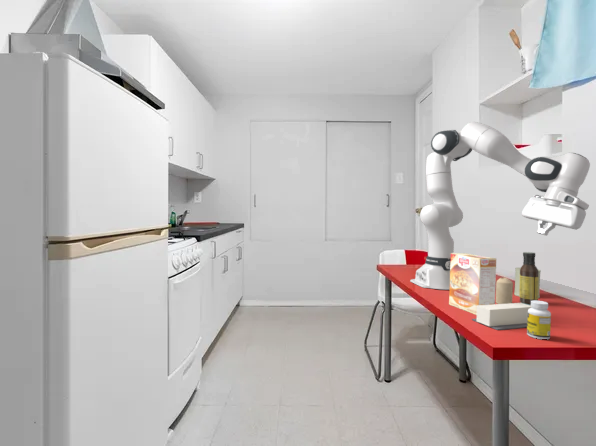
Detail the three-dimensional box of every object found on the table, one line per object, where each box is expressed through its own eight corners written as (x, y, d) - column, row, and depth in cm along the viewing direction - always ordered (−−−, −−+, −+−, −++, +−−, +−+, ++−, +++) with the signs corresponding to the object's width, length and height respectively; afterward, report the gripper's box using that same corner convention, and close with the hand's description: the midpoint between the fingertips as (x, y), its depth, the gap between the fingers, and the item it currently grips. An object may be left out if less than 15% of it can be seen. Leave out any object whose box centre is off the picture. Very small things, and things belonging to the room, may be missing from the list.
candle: (514, 306, 132) (515, 279, 131) (498, 305, 133) (499, 278, 133) (508, 302, 137) (509, 277, 137) (493, 301, 138) (494, 276, 138)
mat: (471, 320, 112) (471, 318, 112) (510, 317, 117) (511, 315, 117) (497, 330, 103) (497, 328, 103) (539, 326, 107) (539, 325, 107)
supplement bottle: (522, 332, 101) (524, 299, 101) (542, 334, 100) (544, 300, 100) (533, 339, 96) (534, 304, 95) (554, 340, 95) (556, 304, 95)
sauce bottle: (531, 301, 140) (533, 251, 140) (541, 305, 134) (544, 253, 133) (515, 300, 140) (517, 251, 140) (525, 304, 134) (527, 253, 134)
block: (521, 317, 115) (476, 321, 110) (521, 302, 115) (477, 305, 110) (535, 322, 110) (489, 326, 105) (535, 306, 110) (489, 309, 105)
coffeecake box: (448, 304, 132) (449, 253, 131) (464, 303, 134) (465, 252, 133) (477, 316, 117) (479, 258, 117) (495, 315, 119) (497, 257, 119)
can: (527, 298, 144) (528, 269, 144) (508, 293, 153) (510, 266, 153) (545, 298, 146) (546, 269, 146) (526, 293, 155) (527, 266, 155)
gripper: (527, 191, 133) (511, 224, 134) (583, 200, 114) (563, 239, 115) (537, 196, 135) (522, 229, 137) (594, 206, 116) (575, 244, 118)
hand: (541, 234), depth 126 cm, fingers closed
